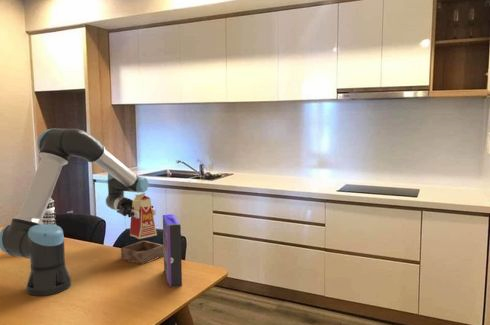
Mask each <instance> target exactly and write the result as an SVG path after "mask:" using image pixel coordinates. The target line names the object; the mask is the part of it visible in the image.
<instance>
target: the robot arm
mask: <svg viewBox="0 0 490 325" xmlns="http://www.w3.org/2000/svg"><path fill="white" fill-rule="evenodd" d="M37 146H38V147H37V149H38V151H39V153H38V156H39V157H40V161H39V164H38V166H37V169H36V170H35V173H34V176H33V178H32V181H31V183H30V186H29V189H28V191H27V193H26V196H25V198H24V200H23V204H22V206H21V208H20V211H19V213H18V215H16V216H13V217H12V220H11V221H10V224H8V225H6V226H5V227H3V228H2V229H1V230H0V250H1V251H2V252H3V253H5V254H7V255H10V256H12V257H19V258H25V259H29V262H30V273H29V276H28V278H27V283H26V293H27V294H29V295H31V296H38V297H39V296H40V297H41V296H50V295H54V294H58V293H61V292H63V291H66V290H67V289H68V288H70V287H71V285H72V278H71V275H70V273H69V271H68V268H67V266H66V261H65V260H66V258H65V255H66V254H65V236H64V230H63V229H62V227H61V226H59V225H57V224H56V225H53V224H43V222H42V219H43V216H44V214H45V211H46V208H47V206H48V203H49V200H50V198H52V195H53V193H54V192H53V191H54V190H55V187H56V184H57V181H58V179H59V176H60V174H61V171H62V168H63V166H66V165H68V163H69V160H70V157H77V158H81V159H83V160H85V161H87V162H88V163H93V164H95V165H96V166H98V167H99V168H100V169H101V170H103V171H104V172H106V173H107V180H106V181H107V192H108V193H107V196H106V198H105V204H106V206H107V207H108V208H110V209H112V210H115V211H116V213H118V214H120V215H121V216H124V217H126V216H128V218H131V216H133V217H136V218H139V212H138V211H135V210H132V203H133V200H134V199H131V198H128V197H126V196H125V192H131V193H146V191H147V190H148V188H149V180H148V178H146V177H143V176H138V174H136V173H134V171H132V170H131V169H130V168H129V167H127V166H126V165H125V164H124V163H123V162H122V161H120V160H119V159H118V158H117V157H115V156H114V155H113V154H112V153H111V152H109V150H108V149H106V148H105V145H104V144H103V143H102V142H101V141H99V139H97V138H96V137H94V136H93V135H92V134H90V133H89V132H87V131H84V130H82V129H79V128H59V127H57V128H54V127H53V128H50V129H49V128H48V129H45V130H44V131H43V132H42V133H40V135H39V137H38V139H37ZM151 206H152V213H153V216H156V215H157V214H156V211H157V210H156V209H155V208H154V205H151Z"/></svg>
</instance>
